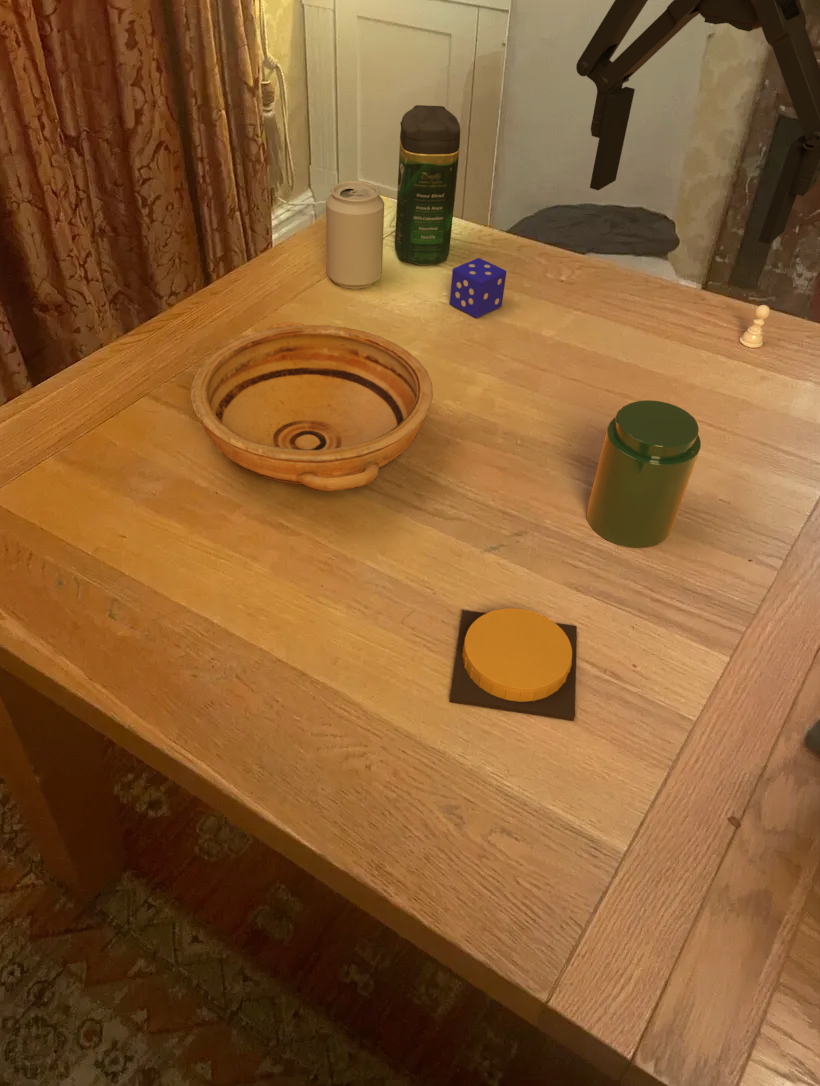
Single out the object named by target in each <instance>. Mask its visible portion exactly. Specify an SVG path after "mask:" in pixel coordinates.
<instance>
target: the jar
mask: <svg viewBox="0 0 820 1086" xmlns="http://www.w3.org/2000/svg"><path fill="white" fill-rule="evenodd" d="M699 432H700V429H699V424H698V422H697V420H696V419H695V418H694V417H693V415H691V413H689V412H688V411H686V410H685V409H683V408H681V407H679V406H677V405H675V404H672V403H668V402H665V401H660V400H647V399H645V400H644V399H643V400H637V401H632V402H630V403H628V404H626V405H623V406H622V408H620V409H619V410H618V411H617V413H616V415H615V417H614V418H612V419H611V421H610V422H609V423H608V426H607V428H606V433H605V435H604V439H603V440H604V441H603V444H602V448H601V451H600V456H599V460H598V463H597V468H596V472H595V475H594V479H593V483H592V488H591V490H590V491H591V492H590V496H589V499H588V504H587V507H586V513H585V515H586V519H587V522H588V525H589V526H590V528H591V529H592V530H593V531H594V533H596V534H597V535H598V536H600V537H601V538H603V539H605V540H606V541H608V542H610V543H612V544H615V545H618V546H620V547H621V546H622V547H624V548H625V547H626V548H635V549H643V548H651V547H654V546H657V545H659V544H662V543H663V542H665V541H666V540H667V539H668V538H669V537H670V536H671V533H672V531H673V528H674V527H675V523H676V520H677V517H678V515H679V511H680V508H681V505H682V503H683V499H684V498H685V497H684V496H685V494H686V491H687V488H688V485H689V482H690V480H691V477H692V474H693V471H694V469H695V465H696V462H697V459H698V456H699V454H700V450H701V447H702V442H701V438H700V436H699Z"/></svg>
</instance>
